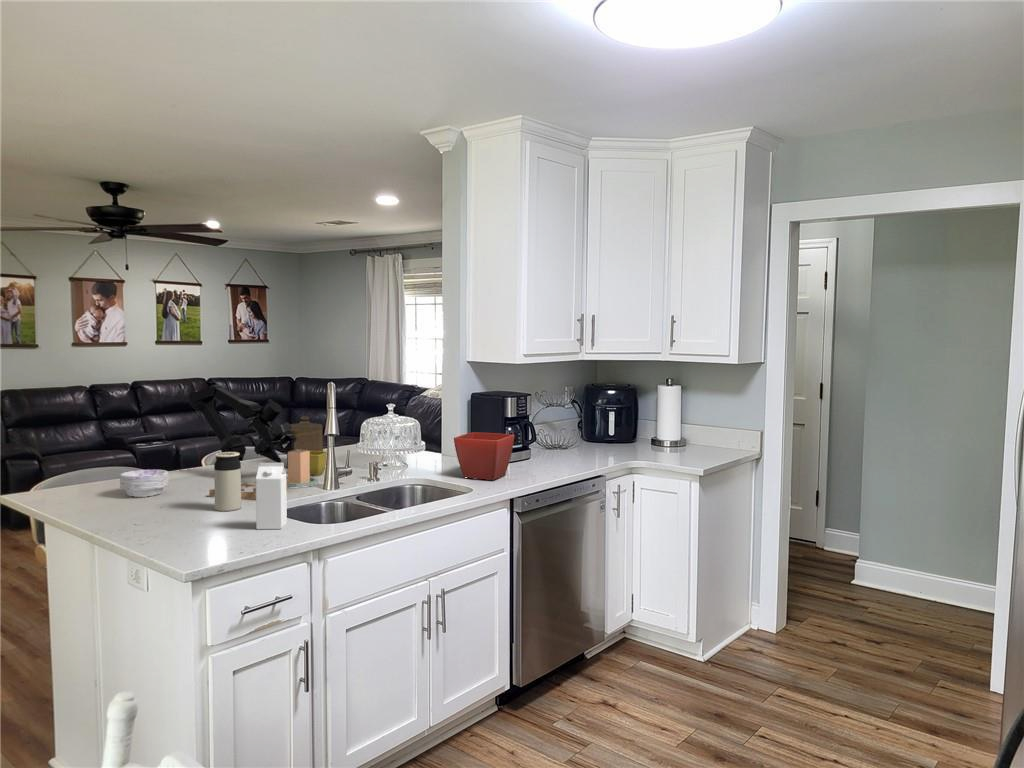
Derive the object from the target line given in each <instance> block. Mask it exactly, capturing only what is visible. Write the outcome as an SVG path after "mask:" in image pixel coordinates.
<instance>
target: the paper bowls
mask: <svg viewBox="0 0 1024 768" xmlns="http://www.w3.org/2000/svg"><path fill="white" fill-rule="evenodd" d="M167 486H169V471H168V470H165V469H139V470H130V471H125V472H122V473H120V474H119V488H120V489H122V490H124V491H125V492H126V493H127V495H128V496H130V497H132V496H134V497H133V498H148V497H147V496H150V497H155V496H158V495H159V494H161V493H162V491H163V490H164V488H165V487H167ZM157 494H158V495H157ZM154 495H155V496H154Z"/></svg>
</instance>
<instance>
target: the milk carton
mask: <svg viewBox="0 0 1024 768" xmlns="http://www.w3.org/2000/svg"><path fill="white" fill-rule="evenodd" d="M284 466H285V463H284V462H281V463H277V462H258V467H257V468H258V469H257V472H256V477H255V485H256V487H255V488H256V500H255V505H256V506H255V509H256V510H255V512H256V514H255V515H256V516H255V518H256V521H255V523H256V524H255V525H256V528H255V529H256V530H281V529H283V528H284V527H285V525H286V524H287V523H288V522H287V519H288V517H287V509H288V508H287V501H288V500H287V489H286V477H287V472H286V469H285V467H284Z"/></svg>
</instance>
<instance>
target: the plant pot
mask: <svg viewBox="0 0 1024 768" xmlns="http://www.w3.org/2000/svg"><path fill="white" fill-rule="evenodd" d="M514 440H515V434H513V433H511V434H510V433H493V432H478V431H477V432H476V431H474V432H473V431H472V432H469V433H465V434H462V435H461V434H460V435H459V436H456V437H453V443H454V449H455V453H456V458H457V461H458V464H459V467H460V470H461V474H462V476H463V478H464V477H467V478H476V479H486V480H485V481H488V480H494V481H496V480H498V479H500V478H502V477H504V476H505V475H506V472H507V470H508V467H509V463H510V461H511V456H512V452H513V447H514ZM497 478H498V479H497ZM476 479H475V480H476ZM495 479H496V480H495Z"/></svg>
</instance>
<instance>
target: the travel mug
mask: <svg viewBox="0 0 1024 768" xmlns="http://www.w3.org/2000/svg"><path fill="white" fill-rule="evenodd" d="M239 455H240V453H238V452H222V451H221V452H217V453H215V454H214V456H215V462H214V464H213V468H214V470H213V472H214V474H213V475H214V477H213V478H214V479H213V480H214V483H213V485H214V489H215V497H214V509H215V511H218V512H233V511H238V510H239V509H241V508H242V499H241V488H242V487H241V483H242V477H241V475H242V468H241V467H242V465H241V461H239V459H238V458H239Z"/></svg>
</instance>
